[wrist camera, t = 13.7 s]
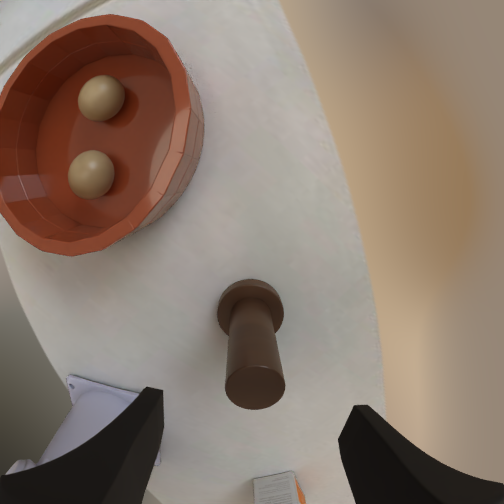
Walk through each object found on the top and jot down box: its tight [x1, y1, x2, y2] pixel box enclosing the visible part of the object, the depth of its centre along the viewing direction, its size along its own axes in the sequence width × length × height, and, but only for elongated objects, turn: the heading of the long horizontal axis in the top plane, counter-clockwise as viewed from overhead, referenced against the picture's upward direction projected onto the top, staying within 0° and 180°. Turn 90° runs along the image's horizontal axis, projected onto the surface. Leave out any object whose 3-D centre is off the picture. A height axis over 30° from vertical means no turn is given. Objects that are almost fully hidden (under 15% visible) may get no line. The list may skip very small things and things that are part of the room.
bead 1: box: [78, 75, 125, 121], centre depth 14 cm, size 3×3×3 cm
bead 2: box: [68, 150, 115, 200], centre depth 15 cm, size 3×3×3 cm
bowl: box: [0, 14, 204, 256], centre depth 14 cm, size 12×12×5 cm
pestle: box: [217, 279, 285, 410], centre depth 15 cm, size 4×4×8 cm
